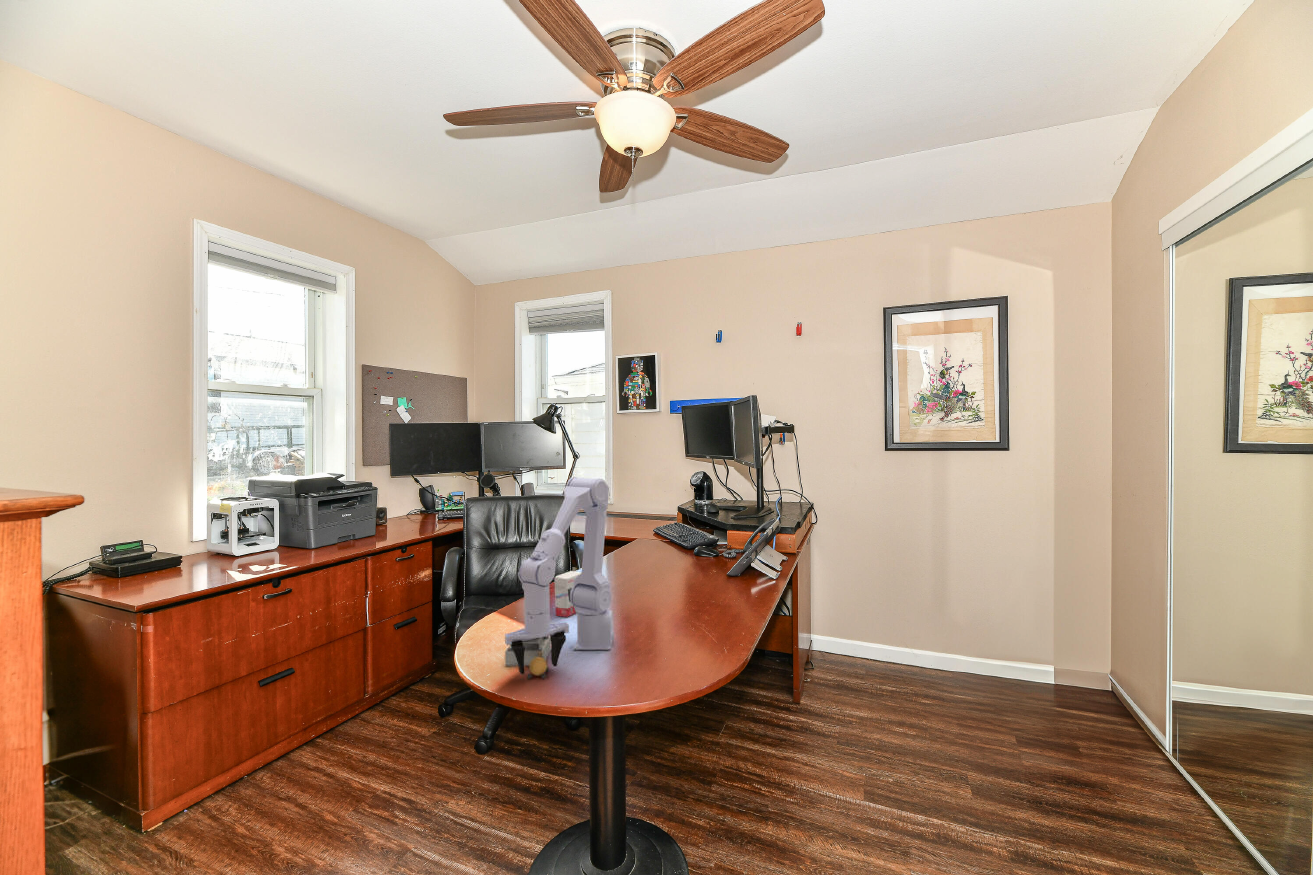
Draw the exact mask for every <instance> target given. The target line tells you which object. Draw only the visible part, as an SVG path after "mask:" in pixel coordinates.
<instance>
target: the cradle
mask: <svg viewBox="0 0 1313 875" xmlns="http://www.w3.org/2000/svg"><path fill="white" fill-rule="evenodd" d="M549 671H550V668H549V667H548V666H547V668H546V671H545V672H544V673H543V674H542V675H540V676H541V680H543V679H544V680H545V679H546V677H547V676H546V673H548V672H549ZM526 676H527V680H531V679H532V678H533V674H532V673H528V674H527V675H526Z"/></svg>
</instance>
